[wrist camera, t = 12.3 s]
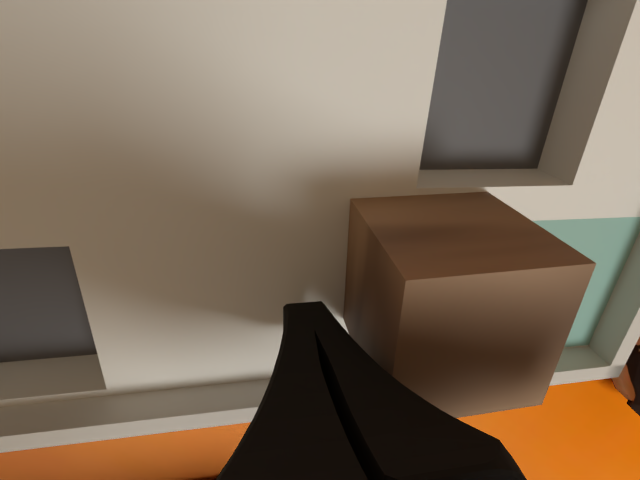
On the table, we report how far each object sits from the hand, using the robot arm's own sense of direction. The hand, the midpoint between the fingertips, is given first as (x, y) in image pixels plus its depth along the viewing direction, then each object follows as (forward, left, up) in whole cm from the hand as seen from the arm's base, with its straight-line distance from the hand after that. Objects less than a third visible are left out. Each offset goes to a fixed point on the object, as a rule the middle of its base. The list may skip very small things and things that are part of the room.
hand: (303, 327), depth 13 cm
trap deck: (+3, 0, -3) cm, 4 cm away
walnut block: (+2, -4, -1) cm, 4 cm away
